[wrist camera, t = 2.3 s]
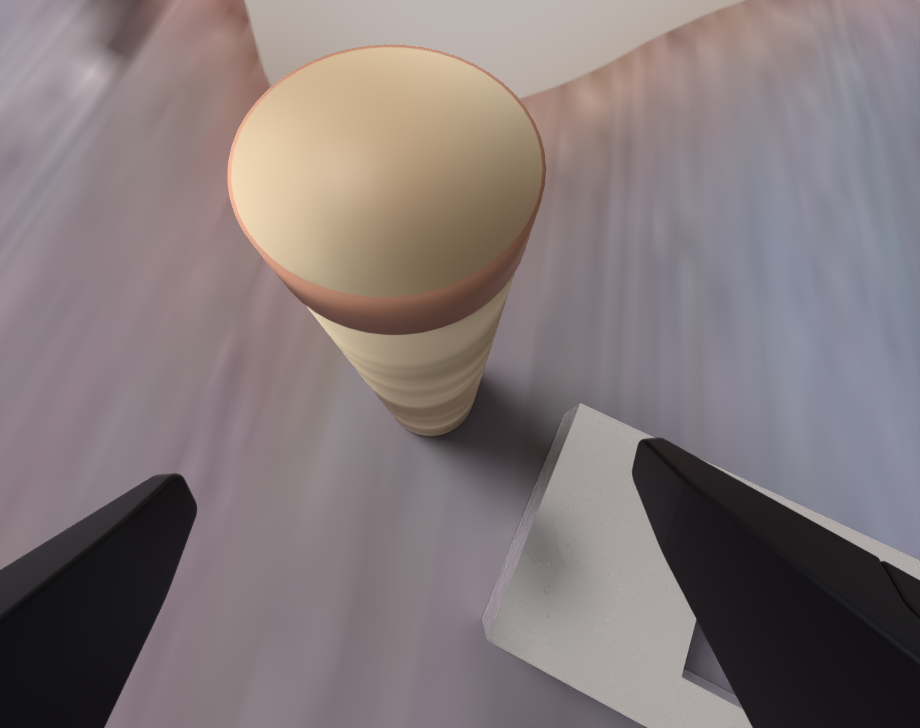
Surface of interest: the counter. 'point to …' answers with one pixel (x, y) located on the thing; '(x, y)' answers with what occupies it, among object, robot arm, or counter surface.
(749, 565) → the robot arm
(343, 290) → the peg
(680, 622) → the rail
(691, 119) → the counter surface
